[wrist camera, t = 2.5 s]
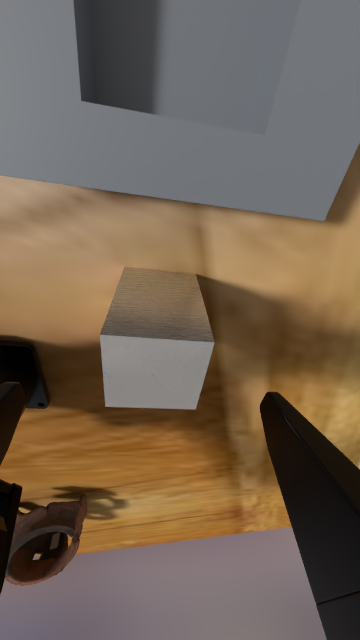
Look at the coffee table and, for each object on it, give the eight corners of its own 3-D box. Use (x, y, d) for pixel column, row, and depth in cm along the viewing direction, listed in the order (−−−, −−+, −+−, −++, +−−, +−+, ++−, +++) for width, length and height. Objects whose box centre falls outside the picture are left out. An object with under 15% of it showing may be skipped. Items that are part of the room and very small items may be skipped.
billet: (185, 329, 16) (195, 409, 11) (124, 325, 15) (105, 406, 10) (195, 273, 13) (214, 342, 8) (124, 266, 13) (99, 334, 8)
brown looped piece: (-10, 490, 29) (-34, 566, 22) (69, 448, 32) (71, 501, 25) (34, 546, 33) (26, 626, 26) (100, 504, 36) (110, 564, 29)
